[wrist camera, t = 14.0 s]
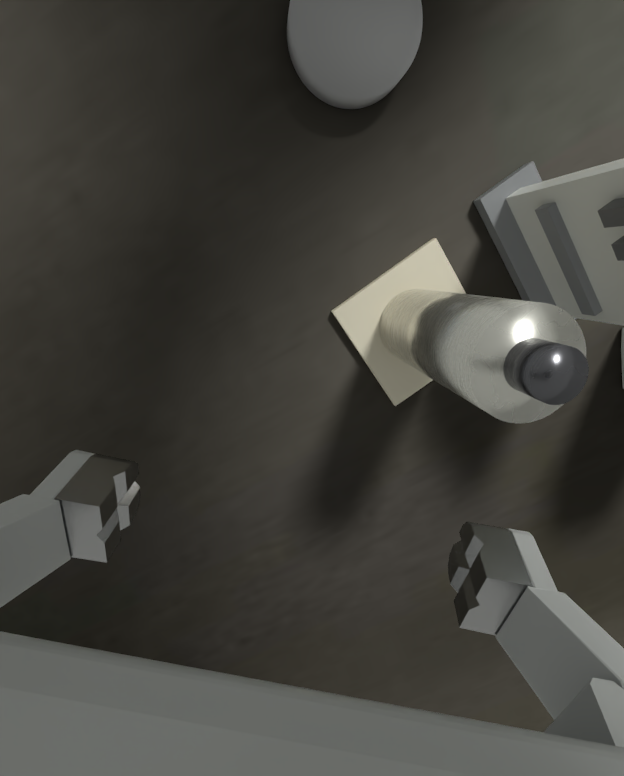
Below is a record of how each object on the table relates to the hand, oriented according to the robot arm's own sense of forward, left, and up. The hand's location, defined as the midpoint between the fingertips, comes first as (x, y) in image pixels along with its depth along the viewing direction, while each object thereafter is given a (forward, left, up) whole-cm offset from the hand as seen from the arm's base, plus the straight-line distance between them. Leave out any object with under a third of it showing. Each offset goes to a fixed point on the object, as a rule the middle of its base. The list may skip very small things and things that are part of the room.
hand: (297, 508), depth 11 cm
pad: (+5, +10, -22) cm, 25 cm away
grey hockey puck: (-13, +16, -22) cm, 30 cm away
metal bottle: (+5, +10, -22) cm, 24 cm away
